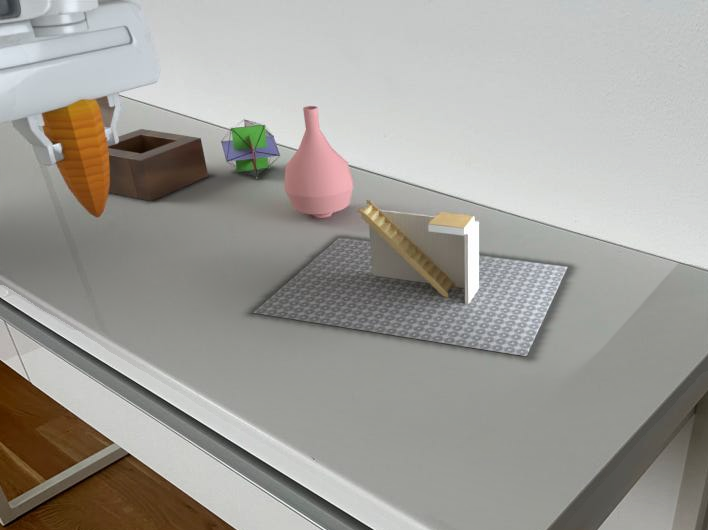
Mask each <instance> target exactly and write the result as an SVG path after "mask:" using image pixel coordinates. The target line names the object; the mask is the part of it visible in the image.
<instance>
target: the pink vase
mask: <svg viewBox="0 0 708 530" xmlns="http://www.w3.org/2000/svg"><path fill="white" fill-rule="evenodd" d="M302 111H303V118H304V126H305V130H304V134H303V136H302V139H301V141H300V144H299V147H298V148H297V150H296V152H295V153H294V154H293V155H292V157H291V158H290V160H289V161H288V162H287V164H286V165H285V171H284V191H285V193H286V196H287V198H288V200H289V202H290V205H291V206H292V208H293V209H294V210H295V211H296V212H300V213H303V214H309V215H312V217H314V218H318V219H324V218H325V219H326V218H329V217H331V216H333V213H336V212H339V211H342V210H344V209H347V207H348V206H349V205H350V204H351V199H352V196H353V190H354V185H355V183H354V180H353V177H352V173H351V169H350V166H349V162H348V161H347V160H346V159H344V157H343V156H341V155H340V154H339V153H338V152H337V151H336V150H335V149H334V148H333V147H332V146H331V144H330V143H329V141H328V140H327V138H326V136H325V135H324V133H323V132H322V130H321V128H320V127H321V126H320V119H319V117H320V116H319V109H318V106H316V105H315V106H314V105H306V106H303V107H302Z"/></svg>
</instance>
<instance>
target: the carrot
mask: <svg viewBox="0 0 708 530" xmlns="http://www.w3.org/2000/svg"><path fill="white" fill-rule="evenodd" d="M41 114H42V117H43V121H44V126H42V127H41V128H42V130H43V133H44V134H45V135H46V137H47V138H48V139H49V140H51V141H55V142H61V145H62V149H63V151H62V153H63V154H64V156H65V161H63V162H60V163H57V164H55V165H56V167H57V169H58V172H59V173H60V175H61V177H62V178H63V181H64V182H65V185H66V186H67V188H68V190H70V192H71V193H72V195H73V196H74V197H75V200H77V202H78V203H79V204H80V205H81V206H82V207H83V208H84V209H85V210H86V212H88V213H89V214H90V215H91V216H93V217H95V218H96V219H98V218H101V216H102V214H103V213H104V211H105V208H106V206H107V205H106V204H107V201H108V198H109V193H108V192H109V185H110V166H109V151H108V146H107V140H106V135H105V130H104V125H103V120H102V116H101V111H100V108H99V105H98V103H97V102H96V100H94V99H93V100H86V99H82V100H79V101H77V102H75V103H73V104H70V105H68V106H66V107H63V108H59V109H56V110H52V111H48V112H44V113H41Z"/></svg>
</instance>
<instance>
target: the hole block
mask: <svg viewBox="0 0 708 530" xmlns="http://www.w3.org/2000/svg"><path fill="white" fill-rule="evenodd" d="M118 138H119V143H118V144H115V145H112V146H109V147H108V151H109V166H110V185H109V192H108V194H113V195H117V196H122V197H128V198H131V199H132V198H133V199H140V200H145V201H149V202H152V201H155V200H157V199H159V198H162V197H164V196H167V195H169V194H171V193H173V192H176V191H178V190H180V189H182V188H185V187H187V186H189V185H192V184H194V183H197V182H198V181H201V180H203V179H205V178H207V177H209V172H208V167H207V163H206V158H205V152H204V146H203V143H202V138H201V137H196V136H189V135H185V134H177V133H171V132H165V131H158V130H151V129H144V128H140V129H137V130H134V131H130V132H127V133H125V134H122V135H118Z"/></svg>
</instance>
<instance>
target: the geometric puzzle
mask: <svg viewBox="0 0 708 530" xmlns="http://www.w3.org/2000/svg"><path fill="white" fill-rule="evenodd" d="M241 122H244V126H239V127H238V126H236V127H230V129H229V130H228V133H226V134H225V136H226V137H228V136H229V137H231V138H232V139H231V138H229V140H225V137H223V138H222V140H220V143H221V146H222V150H223V154H224V157H225V162H226V163H227V164H229V165H231V166H233V168H234V170H235V172H237V173H241V174H244V175H246V176H250V177H253V178H256V179H258V178H259V177H260V176H261V175H262V174H264V172H266V171H267V170H268V169H270V167H271V166H272V165H273V163H275V162H276V161H277V160H278V158H275V160H273V161H272V162H271V160H269V158H273V157H281V156H282V155H281V154H280V151H279V149H278V145H277V142H276V139H275V135H273V134H272V132H271V131H269V128H268V127H267V126H266V124H262V123H259V122H256V121H251V120H248V119H245V118H243V119H242V120H241V121H240V122H238V124H241ZM234 162H235V164H234ZM259 169H260V170H262V169H264V170H263V171H262V172H260V174H259V175H258V170H259ZM252 170H254V173H255V175H252V174H249V172H248V171H252ZM244 172H246V173H244Z"/></svg>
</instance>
